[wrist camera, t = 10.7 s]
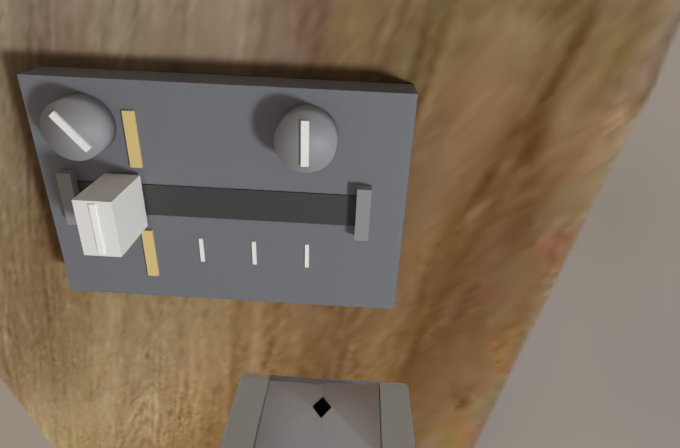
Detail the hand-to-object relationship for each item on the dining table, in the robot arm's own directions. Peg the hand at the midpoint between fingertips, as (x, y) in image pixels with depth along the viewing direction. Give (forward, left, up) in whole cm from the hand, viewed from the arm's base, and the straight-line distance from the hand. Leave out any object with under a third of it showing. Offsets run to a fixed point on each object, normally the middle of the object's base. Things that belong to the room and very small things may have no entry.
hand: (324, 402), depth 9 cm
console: (+8, -9, -29) cm, 31 cm away
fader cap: (+8, -16, -25) cm, 31 cm away
